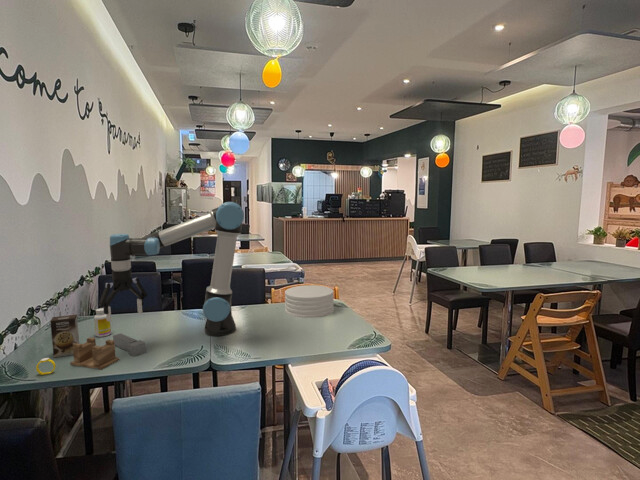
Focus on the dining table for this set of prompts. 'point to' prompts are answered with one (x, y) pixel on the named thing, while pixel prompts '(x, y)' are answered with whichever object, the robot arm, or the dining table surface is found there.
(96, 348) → the cradle rack
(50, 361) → the watch
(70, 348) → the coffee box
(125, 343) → the grey t-shaped block
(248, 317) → the dining table surface
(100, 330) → the supplement bottle
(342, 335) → the dining table surface
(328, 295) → the plate stack
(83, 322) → the dining table surface
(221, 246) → the robot arm
